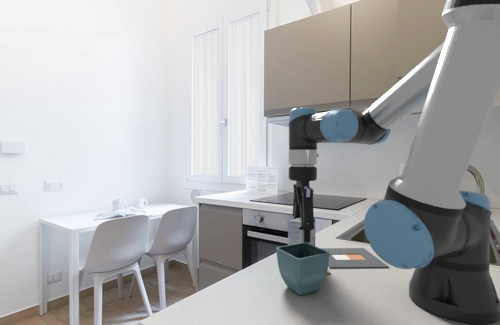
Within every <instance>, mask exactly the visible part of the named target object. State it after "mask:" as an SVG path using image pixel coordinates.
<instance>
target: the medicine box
mask: <svg viewBox="0 0 500 325" xmlns="http://www.w3.org/2000/svg"><path fill="white" fill-rule="evenodd" d="M307 224H309V223H307ZM301 226H302V225H301V217H299V218H296V219H294V218H293V219H291V220H288V223H287V237H288V238H287V240H288V241H287V245H292V244H297V243H300V232H301V230H299V227H301ZM311 245H313V246H316V217H314V229H312V244H311Z"/></svg>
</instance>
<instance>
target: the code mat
mask: <svg viewBox="0 0 500 325" xmlns="http://www.w3.org/2000/svg"><path fill="white" fill-rule="evenodd" d="M319 248H320V249H323V250H325V251H328V252H329V253H330V255H329V263H328V269H389V268H390V266H389V265H387V264H386V262H384V261H383V260H382V259H381V260H380V259H379V257H378V256H375V255H374V254H373V253H372V252H370V251H369V250H367V249H365V247H343V248H342V247H340V248H339V247H336V248H335V247H333V248H332V247H330V248H329V247H327V248H326V247H324V248H323V247H322V248H321V247H319Z"/></svg>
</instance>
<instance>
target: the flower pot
mask: <svg viewBox="0 0 500 325" xmlns="http://www.w3.org/2000/svg"><path fill="white" fill-rule="evenodd" d="M320 248H321V247H317V246H316V245H315V246H313V245H311V244H309V243H306V242H303V243H297V244H292V245H288V244H287V245H281V246H278V247H275V251H276V257H277V266H278V271H279V273H280V277H281V278H282V280H283V282H284V284H285V285H286V287H287V288H288V289H290V290H291V291H293V292H294V293H296V295H297V294H298V295H299V296H304V295H306V294H310V293H314V292H317V291H318V290H320V288H321V287H322V286H323V285H324V282H325V280H326V277H327V275H328V274H327V270H329V267H328V263H329V255H330V253H329V252H328V251H325V250H323V249H320Z"/></svg>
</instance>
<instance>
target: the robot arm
mask: <svg viewBox="0 0 500 325" xmlns="http://www.w3.org/2000/svg"><path fill="white" fill-rule="evenodd" d="M441 20H442V21H443V23H444V24H445V26H446V27H447V30H448V31H447V34H446V37H445V39H444V41H443V42H442V43H441V44H440V45H439V46H438V47H436V48H435V49H434V50H433V51H432V52H431V53H430V54H428V56H426V57H425V58H424V59H423V60H421V61H420V63H418V64H417V65H416V66H415V67H414V68H412V69H411V70H410V71H409V72H408V73H407V74H406V75H405V76H403V77H402V78H401V79H400V80H399V81H398V82H397V83H395V84H393V86H392V87H391V88H390V89H389V90H388V91H386V92H385V93H384V94H383V95H382V96H381V97H380V98H378V99H377V100H376V101H375V102H374V103H372V104H371V106H369V107H368V108H367V109H365V110H364V111H363V112H362V113H354V112H353V111H352V110H350V109H348V108H340V109H336V108H335V109H332V110H329V111H324V112H319V113H318V110H317V108H315V107H311V106H310V107H309V106H308V107H307V106H305V107H303V106H301V107H295V108H292V109H291V110H290V111H289V119H288V120H289V121H288V164H289V165H290V166H289V167H288V179H289V180H290V181H295V182H296V183H294V184H293V185H292V186H293V197H292V198H293V199H292V214H291V215H292V217H293V219H296V218H299V217H301V225H302V226H301V227H299V230H301V232H300V243H303V242H306V243H309V244H312V229H314V218H315V216H314V189H313V188H312V187H311V186H310V182H313V181H314V182H315V181H316V180H317V179H318V177H317V176H318V168H317V166H316V165H317V164H318V163H317V162H318V161H317V160H318V158H319V156H320V154H319V153H318V144H322V143H323V144H328V143H330V144H331V143H333V144H334V143H335V144H359V145H362V144H363V145H378V144H381V143H384V142H385V141H386V140H388V138H389V136H390V134H391V129H392V128H394V127H396V126H397V125H398V124H400V123H401V122H402V121H403V120H405V119H406V118H408V117H409V116H411V115H412V114H413V113H415V112H416V111H418V109H420V108H421V107H422V106H423V108H422V111H421V113H420V118H419V120H418V123H417V125H416V129H415V132H414V135H413V139H412V142H411V145H410V148H409V151H408V154H407V156H406V160H405V163H404V167H403V170H402V173H401V175H399V176H397V177H395V178H392V179H391V180H389V182H388V185H387V187H386V191H385V194H384V198H383V199H380V200H378V201H377V202H375V203H373V204H372V205H371V206H370V207H369V208H367V211H366V212H365V216H364V220H363V221H364V222H363V228H364V234H365V237H366V239H367V240H368V242H369V245H370V248H371V249H372V251H373V252H374V253H375V255H377V257H378V258H380V259H381V261H382V262H384V263H385V264H386V263H387V264H388V266H389V265H390V266H391V267H394V268H397V269H401V270H410V269H414V271H413V273H412V277H411V279H410V280H409V283H408V295H409V298H410V299H411V301H413V303H414V304H416V305H417V306H418V307H420V308H421V309H424V310H425V311H428V312H430V313H431V314H434V315H436V316H439V317H442V318H445V319H448V320H452V321H455V322H461V323H466V324H476V325H487V324H493V323H496V322H498V321H500V298H499V297H498V293H497V290H496V287H495V284H494V281H493V279H492V277H491V272H490V259H491V258H490V253H491V252H490V250H491V248H490V247H491V215H492V210H491V202H490V198H489V197H488V196H487V195H486V194H485V193H481V192H475V191H468V190H467V191H466V190H460V189H461V186H462V183H463V182H464V179H465V176H466V173H467V171H468V168H469V166H470V164H471V161H472V158H473V156H474V153H475V150H476V149H477V146H478V143H479V140H480V138H481V135H482V133H483V130H484V128H485V125H486V122H487V120H488V118H489V115H490V113H491V110H492V107H493V105H494V103H495V100H496V98H497V95H498V93H499V90H500V0H445V3H444V7H443V10H442V12H441ZM307 223H309V224H307Z"/></svg>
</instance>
